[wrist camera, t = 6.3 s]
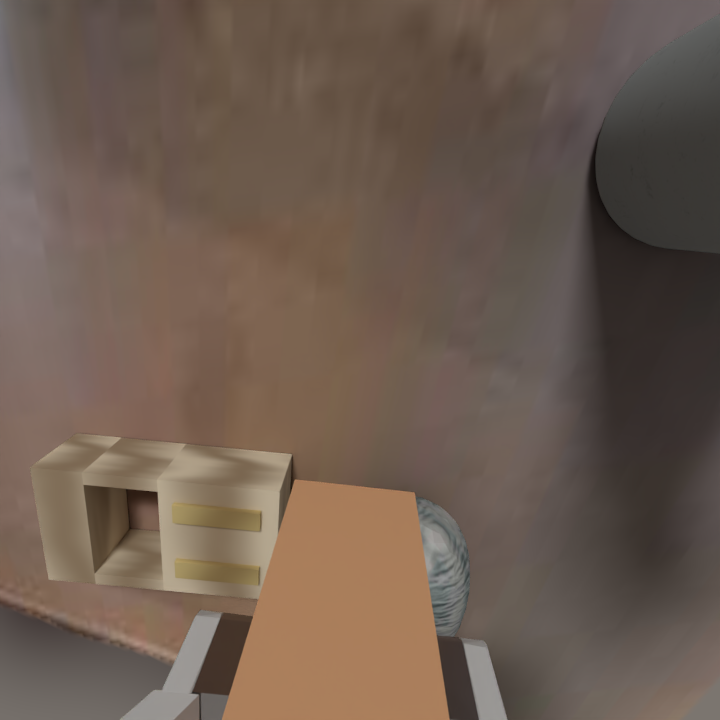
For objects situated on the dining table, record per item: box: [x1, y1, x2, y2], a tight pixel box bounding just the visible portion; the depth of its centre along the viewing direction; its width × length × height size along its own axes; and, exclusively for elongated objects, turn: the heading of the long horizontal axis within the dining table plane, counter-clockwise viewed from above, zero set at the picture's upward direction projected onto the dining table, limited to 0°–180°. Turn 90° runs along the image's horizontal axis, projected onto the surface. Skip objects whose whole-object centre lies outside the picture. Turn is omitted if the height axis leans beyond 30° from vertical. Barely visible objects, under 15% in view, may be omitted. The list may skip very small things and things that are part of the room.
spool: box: [415, 497, 470, 637], centre depth 26 cm, size 14×10×10 cm
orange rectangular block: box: [222, 479, 450, 720], centre depth 8 cm, size 3×5×7 cm, turn 174°
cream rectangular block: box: [30, 433, 292, 599], centre depth 27 cm, size 14×8×4 cm, turn 84°
